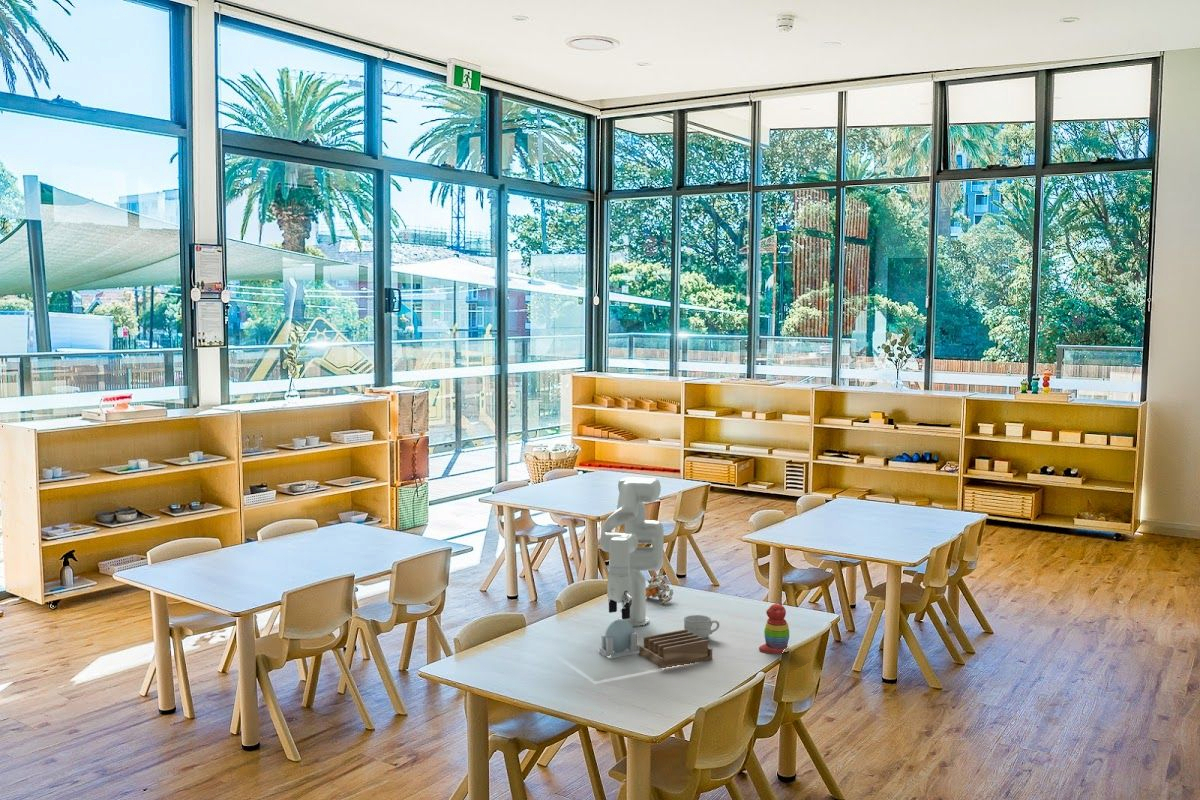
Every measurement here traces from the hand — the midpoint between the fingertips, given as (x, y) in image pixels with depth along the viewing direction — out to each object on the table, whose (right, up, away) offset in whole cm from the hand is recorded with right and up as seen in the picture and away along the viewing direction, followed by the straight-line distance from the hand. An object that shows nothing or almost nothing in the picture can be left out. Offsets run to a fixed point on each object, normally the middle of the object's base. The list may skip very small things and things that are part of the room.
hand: (619, 615), depth 381 cm
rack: (+21, -15, -3) cm, 26 cm away
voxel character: (+18, -9, +68) cm, 71 cm away
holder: (0, -15, +2) cm, 15 cm away
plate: (0, -14, +2) cm, 14 cm away
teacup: (+33, -13, +20) cm, 40 cm away
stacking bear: (+60, -15, +6) cm, 62 cm away
